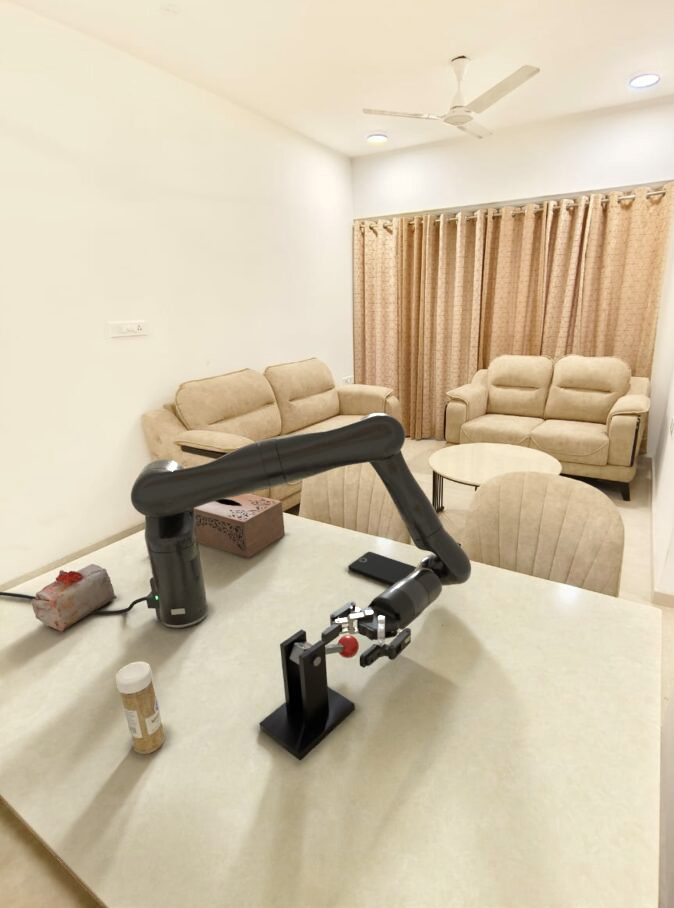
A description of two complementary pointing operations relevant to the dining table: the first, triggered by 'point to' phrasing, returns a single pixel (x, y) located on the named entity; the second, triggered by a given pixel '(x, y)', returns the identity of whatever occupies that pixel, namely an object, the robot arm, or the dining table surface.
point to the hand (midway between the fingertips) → (341, 651)
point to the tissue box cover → (240, 523)
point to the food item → (73, 596)
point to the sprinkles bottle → (141, 706)
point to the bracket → (305, 701)
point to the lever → (329, 648)
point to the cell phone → (381, 568)
